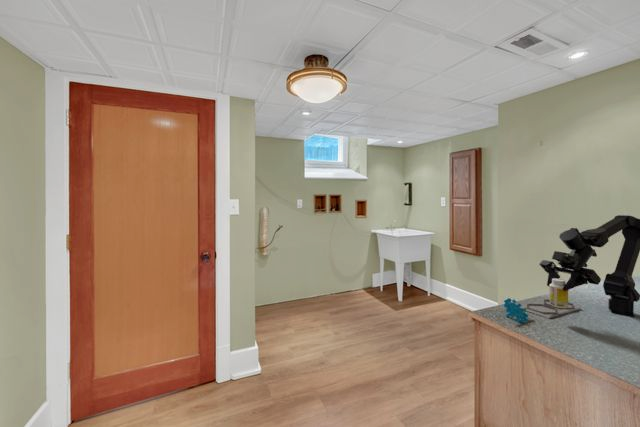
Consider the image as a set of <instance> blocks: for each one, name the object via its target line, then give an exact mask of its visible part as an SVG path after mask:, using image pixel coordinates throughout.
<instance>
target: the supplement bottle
mask: <svg viewBox="0 0 640 427" xmlns="http://www.w3.org/2000/svg"><path fill="white" fill-rule="evenodd" d="M566 283H567V282H566V280H565V279H562V278H559V279H556V278H554V279H552V283H551V284H550V285H549V286H548V287H549V288H548V290H549V296H548V298H549V299H548V300H549V301H550V305H552V306H554V307H558V308H567V307H568V303H569V290H567V291H564V290H563V288H564V286H565V284H566Z"/></svg>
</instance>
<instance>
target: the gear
mask: <svg viewBox="0 0 640 427" xmlns="http://www.w3.org/2000/svg"><path fill="white" fill-rule="evenodd" d="M516 303H517V300H515V299H512V298H509V297H508V298H507V299H505V300H503V307H504V308H505V312H506V314H505V317H506V318H508V317H510V318H511V319H514V318H515V317H516V318H515V322H517V323H519V322H520V323H522V324H525V323H526V322H528V321H529V314H528V313H526V312H527V311H526V310H527V308H523V309H522V308H521V306H523V305H522V304H521V303H520V302H519V303H517V304H516Z"/></svg>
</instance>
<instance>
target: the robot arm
mask: <svg viewBox="0 0 640 427" xmlns="http://www.w3.org/2000/svg"><path fill="white" fill-rule="evenodd" d="M619 232H621V234H622V236H623V237H624V241H623V244H622V248H621V250H620V253H619V257H618V259H617V263H616V267H615V269H614V271H613V272H612V273H607V274H606V275H605V278H604V280H603V284H602V286H603V290H604V294H605V295H606V296H608V297H609V296H610V298H607V299H608V304H607V305H608V307H607V308H608V309H609V311H610V312H611V313H612V314H618V315H624V316H629V317H635V311H634V309H635V306H634V302H639V301H640V293H639V291H638V290H637V289H636V283H635V280H634V279H633V274H634V270H635V267H636V264H637V261H638V259H639V258H638V257H639V255H640V218H637V217H635V216H633V215H629V214H628V215H624V214H618V215H615V216H614V217H613V219H610V220H609V221H607V222H605V223H603V224H601V225H599V226H598V227H596V228H591V229H586V230H583V231H581V232H580V230H579V229H578V228H577V227H570V228H569V229H567V230H565V231H562V232H561V233H560V234H559V239H560V240H561V242H562V243H563V244H564V245H565V246H566V248H568V250H571V251H570V252H564V251H557V250H554V251H553V255H552V257H551V259H552V260H555V261H556V262H557V264H558V265H556V264H555V262H554V261H551V260H546V259H544V260H541V261H540V262H539V264H538V265H539V266H540V267H541V268H542V269H543V270H544V272H545V273H547V274H548V276H547V281H546V282H547V283H546V286H547V287H549V285H550V284H551V283H552V279H554V278H556V279H561V275H560V274H559V273H564V274H569V275H570V278H568V280H567V282H565V283H566V284H565V286H564V288H563V290H564V291H567V290H568V291H570V290H571V289H574V288H577V287H580V286H582V285H588V284H592V285H596V286H597V285H599V284H600V283H601V281H602V279H601V277H600V275H599V274H598V273H597V272H596V271H595V270H594V269H591V268H587V267H588V266H589V265H588V264H587V263H588V261H589V260H590V259H591V257H597V256H598V254H597V252H596V249H594V248H603V247H604V246H605V245H607V243H609V239H610V237H612V236H614V235H616V234H617V233H619Z"/></svg>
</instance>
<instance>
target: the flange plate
mask: <svg viewBox="0 0 640 427" xmlns="http://www.w3.org/2000/svg"><path fill="white" fill-rule="evenodd" d="M520 308H522V309H523V308H527V310H526V312H529V313H532V314H535V315H538V316H541V317H544V318H547V319H552V318H556V317H558V316H562V315H565V314H569V313H572V312H575V311H576V312H577V311H580V310H581V306H578V305H576V304H574V303H570V302H568V307H567V308H558V307H554V306H552V305H550V301H549V299H543V300H542V301H538V302H533V303H526V305H522V306H521V307H520Z"/></svg>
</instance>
